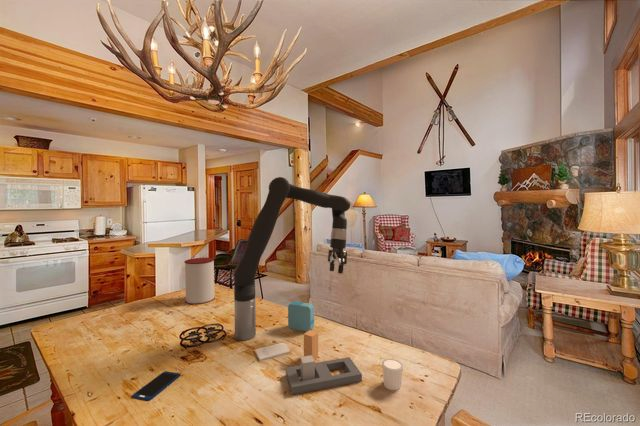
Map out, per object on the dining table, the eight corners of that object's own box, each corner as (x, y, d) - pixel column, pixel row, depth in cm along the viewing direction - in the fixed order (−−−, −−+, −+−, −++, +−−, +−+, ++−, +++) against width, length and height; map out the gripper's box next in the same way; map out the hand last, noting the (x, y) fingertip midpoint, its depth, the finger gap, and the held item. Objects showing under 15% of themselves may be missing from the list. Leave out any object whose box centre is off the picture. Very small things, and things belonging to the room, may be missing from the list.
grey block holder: (291, 395, 89) (291, 371, 89) (286, 374, 99) (285, 353, 99) (361, 381, 96) (361, 359, 95) (349, 363, 106) (349, 343, 106)
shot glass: (379, 378, 97) (379, 358, 97) (398, 377, 97) (398, 357, 97) (385, 392, 90) (385, 370, 90) (406, 390, 91) (406, 369, 90)
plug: (309, 354, 112) (309, 330, 112) (318, 357, 110) (318, 332, 110) (303, 359, 109) (303, 333, 109) (312, 362, 107) (312, 336, 107)
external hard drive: (290, 354, 114) (259, 362, 108) (283, 345, 121) (254, 352, 115) (290, 350, 114) (259, 358, 108) (283, 341, 121) (254, 348, 115)
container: (178, 303, 170) (177, 262, 169) (196, 294, 187) (195, 257, 186) (205, 305, 167) (204, 263, 166) (220, 295, 184) (219, 257, 183)
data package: (314, 328, 136) (314, 304, 135) (310, 332, 132) (310, 307, 131) (292, 324, 141) (292, 300, 140) (287, 328, 136) (287, 303, 136)
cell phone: (130, 398, 88) (130, 396, 88) (164, 372, 102) (164, 370, 102) (149, 402, 86) (149, 400, 86) (182, 375, 100) (182, 373, 100)
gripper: (325, 237, 142) (322, 270, 140) (339, 237, 129) (336, 273, 127) (337, 238, 145) (335, 270, 143) (352, 239, 132) (350, 274, 131)
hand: (335, 272), depth 135 cm, fingers open, 8 cm apart
